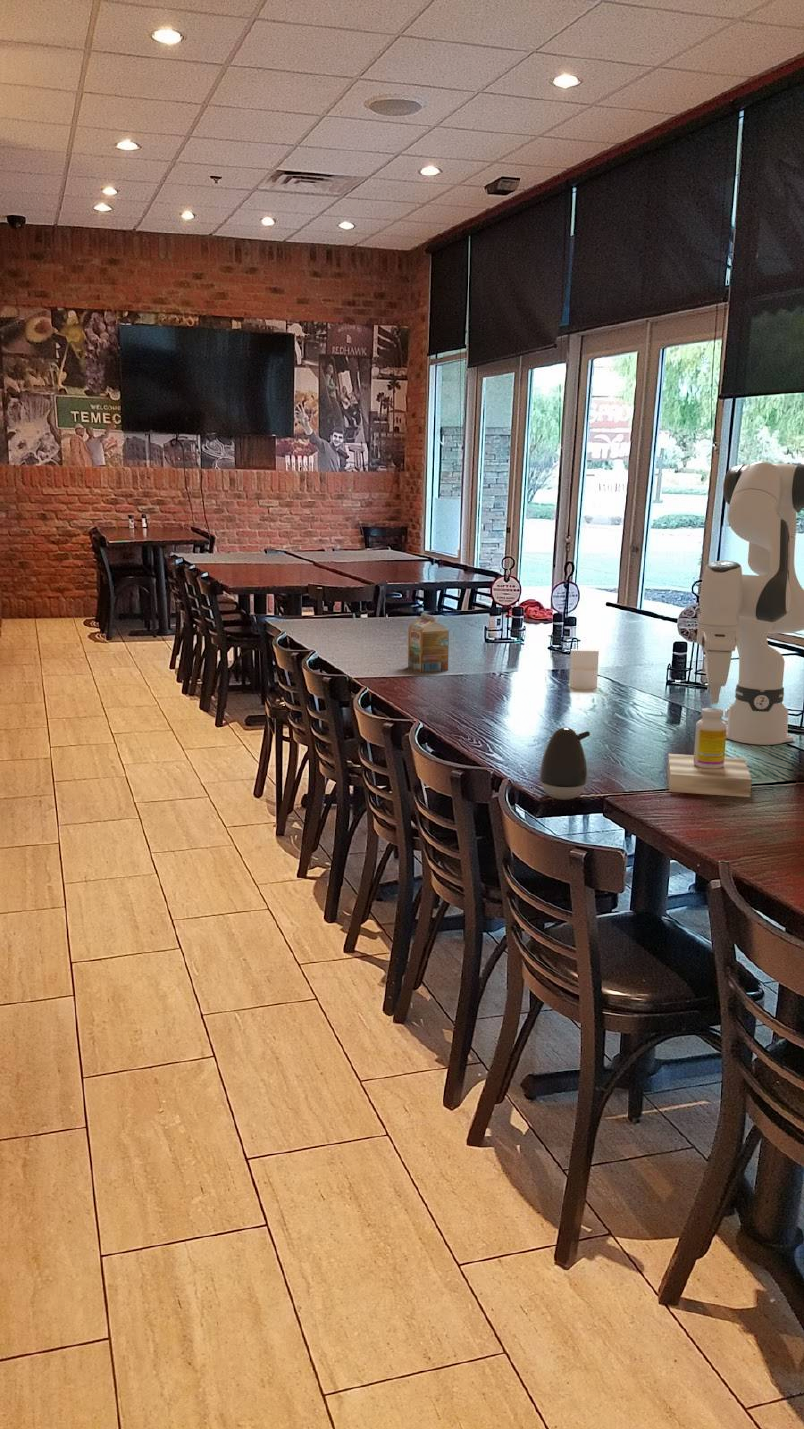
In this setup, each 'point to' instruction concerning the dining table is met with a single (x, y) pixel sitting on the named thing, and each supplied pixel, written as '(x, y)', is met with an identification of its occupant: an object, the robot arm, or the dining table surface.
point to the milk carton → (428, 645)
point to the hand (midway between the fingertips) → (712, 697)
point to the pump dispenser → (564, 765)
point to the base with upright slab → (583, 668)
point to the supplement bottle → (710, 739)
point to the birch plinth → (708, 777)
